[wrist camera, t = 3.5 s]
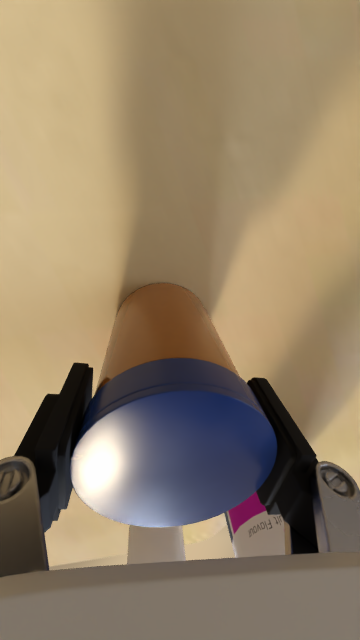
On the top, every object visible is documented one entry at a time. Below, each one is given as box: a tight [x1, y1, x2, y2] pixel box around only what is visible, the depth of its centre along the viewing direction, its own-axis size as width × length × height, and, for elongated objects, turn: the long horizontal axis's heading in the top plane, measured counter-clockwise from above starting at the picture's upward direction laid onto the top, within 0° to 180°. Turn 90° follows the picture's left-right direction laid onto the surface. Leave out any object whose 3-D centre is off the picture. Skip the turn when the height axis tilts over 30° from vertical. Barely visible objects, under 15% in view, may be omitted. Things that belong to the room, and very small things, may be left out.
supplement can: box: [224, 492, 285, 558], centre depth 19 cm, size 8×8×15 cm
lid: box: [70, 358, 277, 527], centre depth 9 cm, size 7×7×2 cm
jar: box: [95, 283, 240, 394], centre depth 13 cm, size 6×6×10 cm
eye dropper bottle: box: [127, 525, 186, 564], centre depth 22 cm, size 4×6×12 cm
